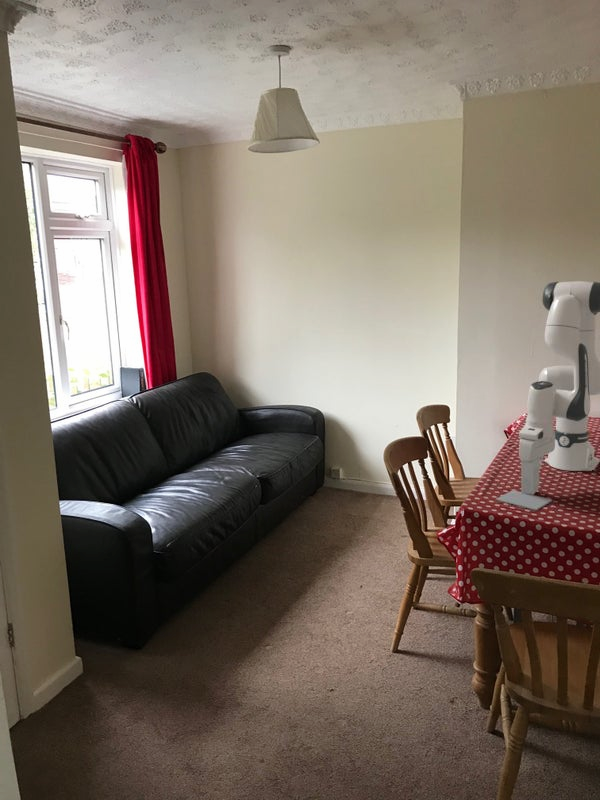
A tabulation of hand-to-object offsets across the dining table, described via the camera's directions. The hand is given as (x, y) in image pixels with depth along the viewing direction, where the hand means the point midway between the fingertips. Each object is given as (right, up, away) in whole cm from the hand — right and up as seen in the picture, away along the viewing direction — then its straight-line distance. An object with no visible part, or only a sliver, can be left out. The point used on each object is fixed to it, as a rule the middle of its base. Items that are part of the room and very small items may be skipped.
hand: (536, 468), depth 229 cm
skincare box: (-3, -8, -1) cm, 8 cm away
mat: (-7, -10, -8) cm, 15 cm away
